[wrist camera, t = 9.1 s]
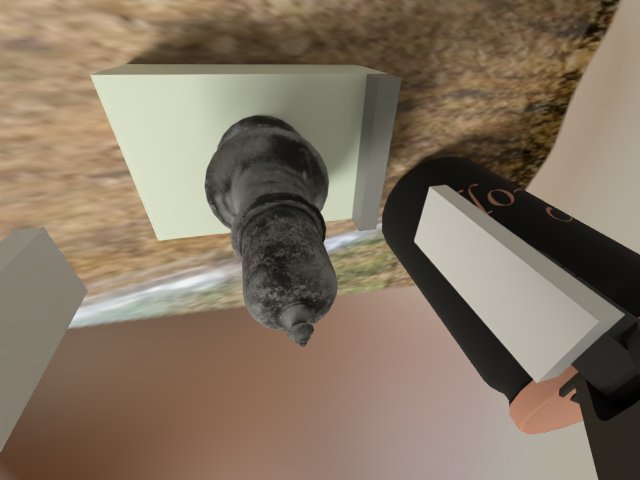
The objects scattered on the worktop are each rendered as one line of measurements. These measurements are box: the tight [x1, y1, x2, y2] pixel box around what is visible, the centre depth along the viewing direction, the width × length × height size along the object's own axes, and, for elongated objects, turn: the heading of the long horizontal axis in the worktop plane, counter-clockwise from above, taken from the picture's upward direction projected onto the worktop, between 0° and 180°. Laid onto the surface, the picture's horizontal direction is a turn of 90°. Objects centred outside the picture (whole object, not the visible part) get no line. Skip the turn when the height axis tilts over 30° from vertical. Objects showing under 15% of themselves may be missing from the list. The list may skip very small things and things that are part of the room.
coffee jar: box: [382, 157, 640, 434], centre depth 21 cm, size 11×11×18 cm
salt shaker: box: [204, 115, 337, 347], centre depth 11 cm, size 6×6×12 cm
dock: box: [90, 64, 402, 241], centre depth 17 cm, size 14×9×7 cm, turn 89°
